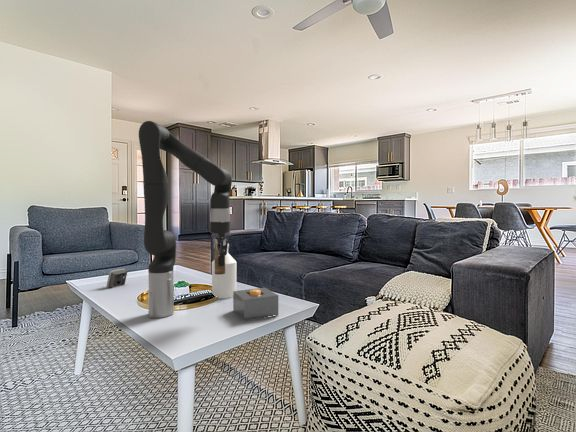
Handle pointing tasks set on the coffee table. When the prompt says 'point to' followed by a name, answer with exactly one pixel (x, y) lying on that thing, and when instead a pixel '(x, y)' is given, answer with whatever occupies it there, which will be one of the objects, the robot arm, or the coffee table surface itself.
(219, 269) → the brown wooden block
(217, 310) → the coffee table surface
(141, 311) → the coffee table surface
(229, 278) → the bottle
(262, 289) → the box
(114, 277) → the electrical switch
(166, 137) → the robot arm
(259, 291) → the button
